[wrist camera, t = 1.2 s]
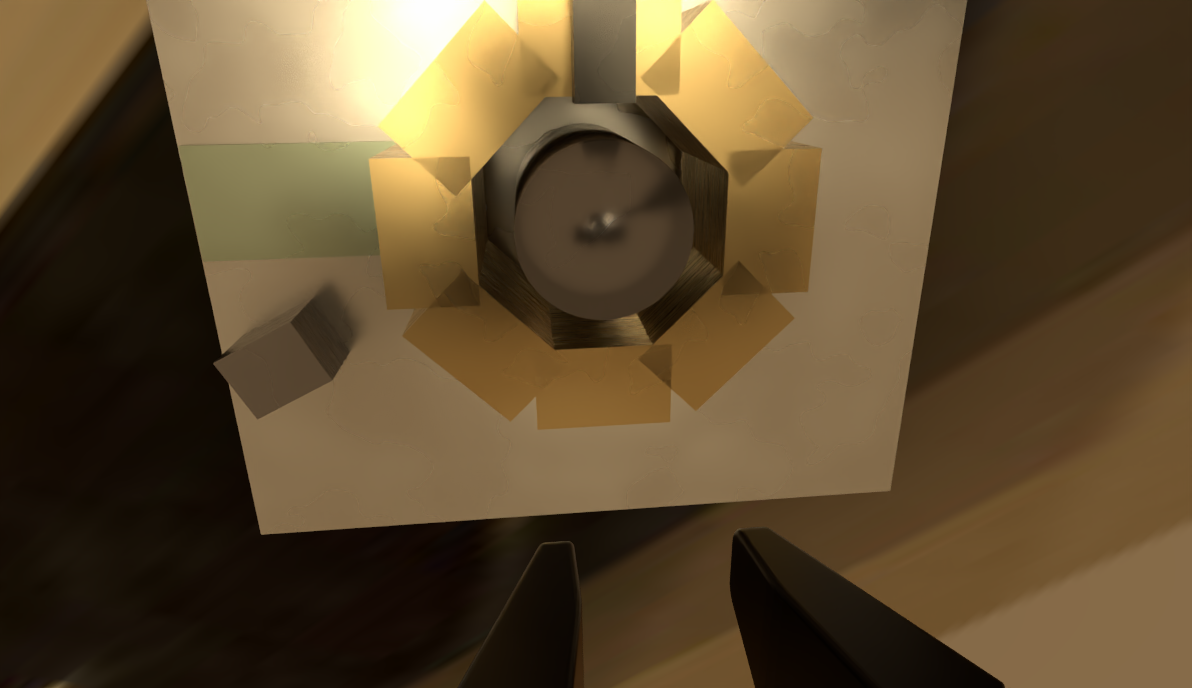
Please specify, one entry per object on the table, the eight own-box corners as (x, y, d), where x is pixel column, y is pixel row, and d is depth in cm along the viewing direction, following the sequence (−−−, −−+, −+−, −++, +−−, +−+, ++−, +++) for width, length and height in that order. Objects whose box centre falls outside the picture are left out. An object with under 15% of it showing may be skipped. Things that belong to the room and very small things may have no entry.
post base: (973, -236, 16) (1223, -408, 10) (871, 469, 22) (990, 602, 17) (118, -261, 14) (-146, -483, 8) (275, 509, 20) (183, 671, 15)
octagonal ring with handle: (790, -433, 13) (923, -686, 9) (739, 346, 18) (806, 428, 14) (341, -457, 12) (245, -744, 8) (427, 362, 18) (398, 452, 13)
